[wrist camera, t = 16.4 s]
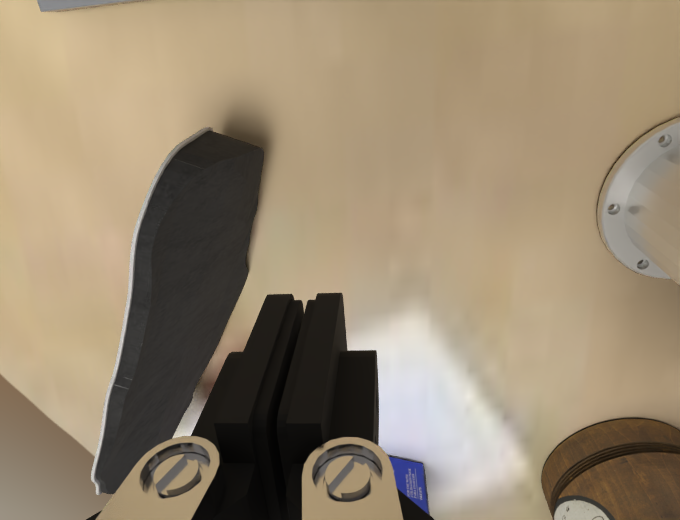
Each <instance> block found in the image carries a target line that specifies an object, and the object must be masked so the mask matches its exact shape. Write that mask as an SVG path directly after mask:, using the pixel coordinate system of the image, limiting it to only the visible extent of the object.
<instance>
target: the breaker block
mask: <svg viewBox="0 0 680 520" xmlns="http://www.w3.org/2000/svg"><path fill="white" fill-rule="evenodd" d="M37 1H38V4H39V7H40V10H41V12H60V11H68V10H76V9H84V8H92V7H100V6H108V5H116V4H124V3H132V2H140V1H148V0H37Z"/></svg>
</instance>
